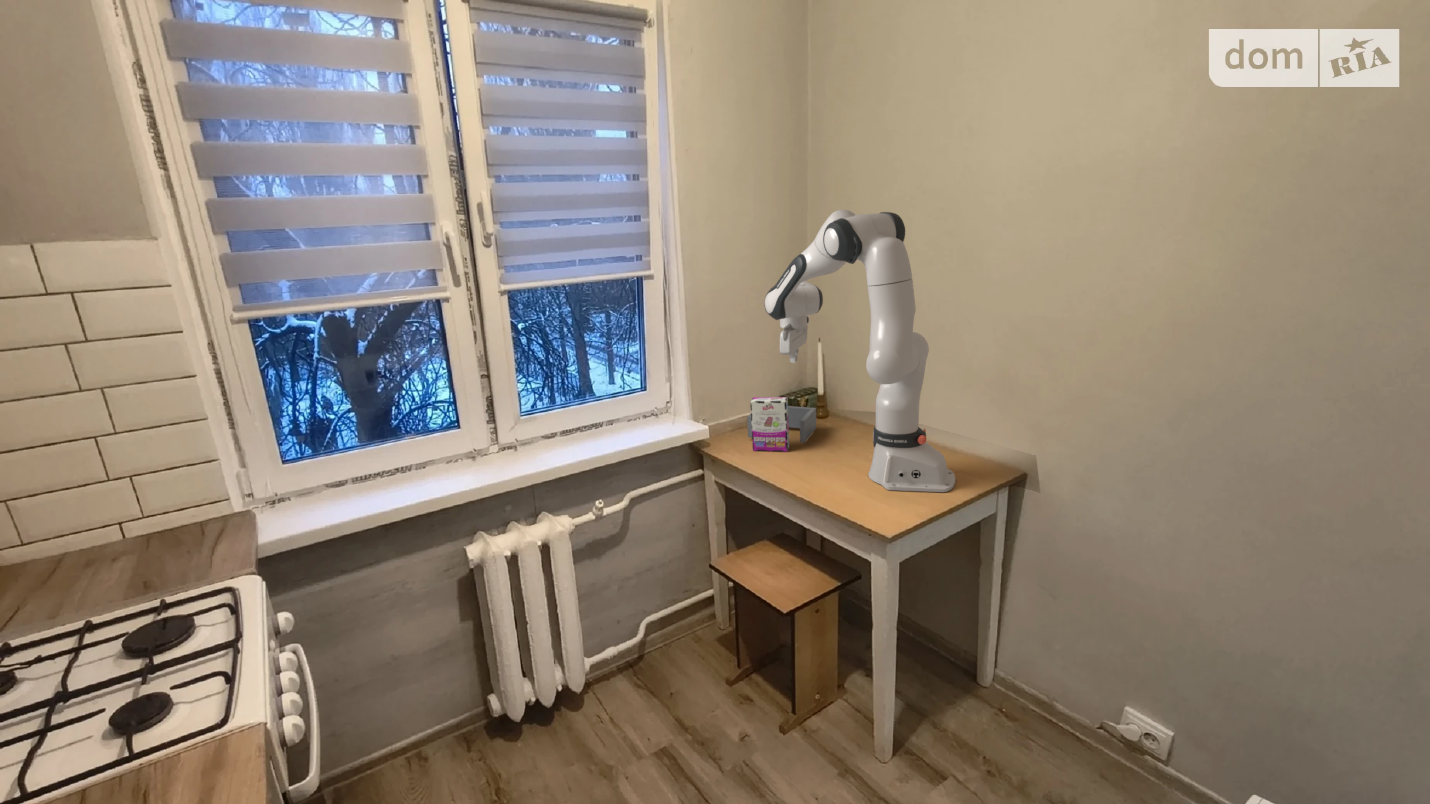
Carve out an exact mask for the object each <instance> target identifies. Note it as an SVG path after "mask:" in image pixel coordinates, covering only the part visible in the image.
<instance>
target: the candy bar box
mask: <svg viewBox="0 0 1430 804" xmlns="http://www.w3.org/2000/svg"><path fill="white" fill-rule="evenodd" d="M788 400H789V398H788V397H786V396H785V397H783V396H780V397H779V396H778V397H777V396H776V397H775V396H774V397H773V396H771V397H769V396H768V397H767V396H765V397H763V396H762V397H761V396H759V397H757V396H756V397H752V398H751V400H750V414H751V424H752V438H751V439H752V440H751V441H752V451H753V452H779V453H781V452H783V453H784V452H785V453H787V452H788V451H789V448H790V427H789V421H788V406H789V401H788Z"/></svg>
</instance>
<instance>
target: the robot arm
mask: <svg viewBox="0 0 1430 804" xmlns="http://www.w3.org/2000/svg"><path fill="white" fill-rule="evenodd" d="M905 237H906V226H905V223H904V220H903V219H902V217H901V216H900V215H898V214H897V213H894V212H890V211H881V212H877V213H874V212H873V213H866V214H865V213H861V214H855V213H854V212H853V211H851V210H849V209H838V210H835V211H834V212H832V213H830V215H829V216H828V217H827V219H826V220H825V221H824V222H823V224H822V225H821V227H820V228H819V230H818V232H817V233H816V236H815V237H814V240H812V242H811V243H810V244H809V245H808V246H807V247H806V248H805V249H804V250H803V251H802V252H801V253H799V254H798V255H797V256H796V257H794V258H793V259H792V261H790V263H789V265H788V266H787V267H786V269H785V270H784V272H783V273H782V274H781V276H780V277H779V279H778V280H777V282H776V283H775V284H774V285H773V286H772V287H771V288H770V289H769V290H768V291H767V293H766V294H765V297H764V301H763V303H764V310H765V313H766V314H767V315H769V316H770V317H771V318H772V319H774V320H775V321H778V320H779V327H780V328H781V329H783V330H782V331H780V333H779V353H780V355H783V356H784V355H785V356H787V355H788V357H789V362H790V363H791V364H795V363H796V362H797V361H798V355H799V351H800V348H801V347H802V346H804V345H805V344H806V343H807V340H808V339H807V338H808V328H809V327H808V324H809V322H810V316H812V315H815V314H816V315H817V313H819V312H820V310H821V309H822V307H823V304H824V302H823V301H824V299H823V298H824V297H823V292H822V290H821V289H820V288H819V287H818V286H817V285H816V284H812V283H810V282H809V281H808V280H810V279H813V278H818V277H821V276H826V275H830V274H833V273H836V272H838V271H839V270H840V269H842V268H843V266H844V265H845V264H846V263H848V264H851V265H854V264H855V263H856V262H857V261H860V262H861V263H862V264H863V266H864V268H865V272H866V273H865V275H866V283H867V284H866V286H867V292H868V302H869V311H870V329H869V331H870V333H869V349H868V355H867V358H866V364H865V368H866V371H867V374H868V376H869V377H870V378H871V380H873V381H874V382H875V383H878V384H879V385H880V386H879V389H878V392H877V395H876V398H875V425H874V427H873V431H872V444H873V455H872V459H871V464H870V465H871V466H870V469H869V471H868V477H869V479H870V480H871V481H872V482H874V483H876V484H879V485H881V486H882V487H883V488H885V489H886V490H888V491H901V492H903V491H905V492H929V493H930V492H931V493H946V492H949V491H951V490H952V489H953V488H954V487H955V485H956V474H955V473H954V471H952V470H951V469H950V468H948V467H947V462H946V458H945V456H944V454H943V453H942V452H941V451H939V450H938V449H936V448H935V447H934V446H932V445H931V444H929V443H928V442H927V432H926V428H923V429H922V428H920V426H919V419H920V418H919V416H920V415H919V414H920V400H921V393H922V388H923V384H924V383H923V382H924V378H925V372H926V364H927V360H928V356H929V351H930V349H929V348H930V347H929V346H930V345H929V343H928V341H927V339H926V337H924V335H922V334H920V333H918V332H915V331H914V322H915V321H914V320H915V314H916V312H917V311H916V310H917V309H916V300H915V290H914V282H913V280H914V279H913V273H912V268H911V263H910V257H909V254H908V252H907V248H906V245H905V243H904V242H905Z"/></svg>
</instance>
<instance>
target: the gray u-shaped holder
mask: <svg viewBox="0 0 1430 804" xmlns="http://www.w3.org/2000/svg"><path fill="white" fill-rule="evenodd" d="M746 417H747V420H746V421H747V437H748V438H751V439H752V424H751V413H750V414H748V415H747V416H746ZM788 421H789V428H793V429H794V428H795V429H799V442H800V443H806V442H807V441H808V440H809V438H810V437H811V435H812V434H813V433H814V432H815V430H817V408H816V407H809V406H808V407H807V406H793V405H792V406H790V405H788Z"/></svg>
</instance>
